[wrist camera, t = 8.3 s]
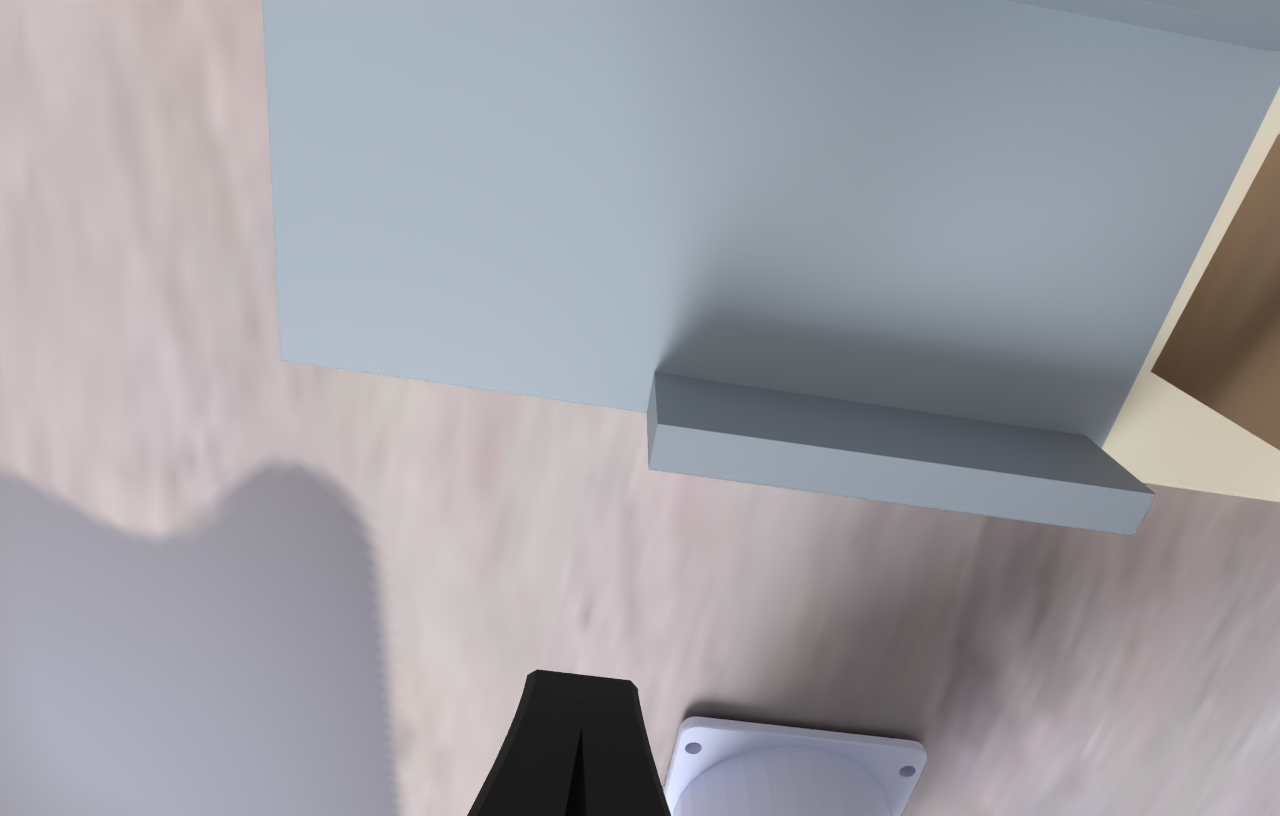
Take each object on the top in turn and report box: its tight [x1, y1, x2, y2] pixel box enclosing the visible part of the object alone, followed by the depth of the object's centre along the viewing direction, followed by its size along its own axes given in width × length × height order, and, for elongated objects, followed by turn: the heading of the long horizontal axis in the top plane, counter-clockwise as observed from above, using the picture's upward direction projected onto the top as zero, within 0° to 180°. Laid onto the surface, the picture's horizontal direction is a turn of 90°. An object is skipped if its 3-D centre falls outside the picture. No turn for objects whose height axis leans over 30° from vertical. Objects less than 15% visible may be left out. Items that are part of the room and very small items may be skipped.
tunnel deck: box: [262, 0, 1280, 536], centre depth 15 cm, size 10×34×4 cm, turn 81°
